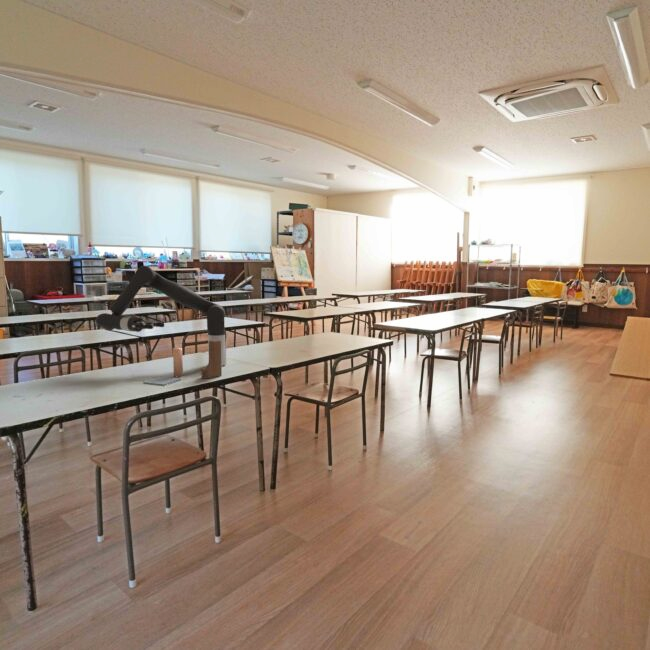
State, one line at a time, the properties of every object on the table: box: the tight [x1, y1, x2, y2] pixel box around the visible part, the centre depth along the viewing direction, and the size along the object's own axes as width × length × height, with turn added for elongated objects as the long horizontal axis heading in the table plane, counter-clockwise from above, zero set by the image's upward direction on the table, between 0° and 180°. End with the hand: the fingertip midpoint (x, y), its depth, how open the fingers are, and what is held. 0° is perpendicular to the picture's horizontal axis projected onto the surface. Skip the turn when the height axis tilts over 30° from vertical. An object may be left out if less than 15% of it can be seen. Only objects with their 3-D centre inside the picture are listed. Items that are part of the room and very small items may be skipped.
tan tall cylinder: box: [172, 347, 184, 378], centre depth 231 cm, size 4×4×14 cm
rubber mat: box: [143, 376, 182, 386], centre depth 221 cm, size 12×12×1 cm
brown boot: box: [201, 340, 223, 380], centre depth 230 cm, size 9×4×18 cm, turn 140°
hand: (158, 325), depth 232 cm, fingers open, 8 cm apart
